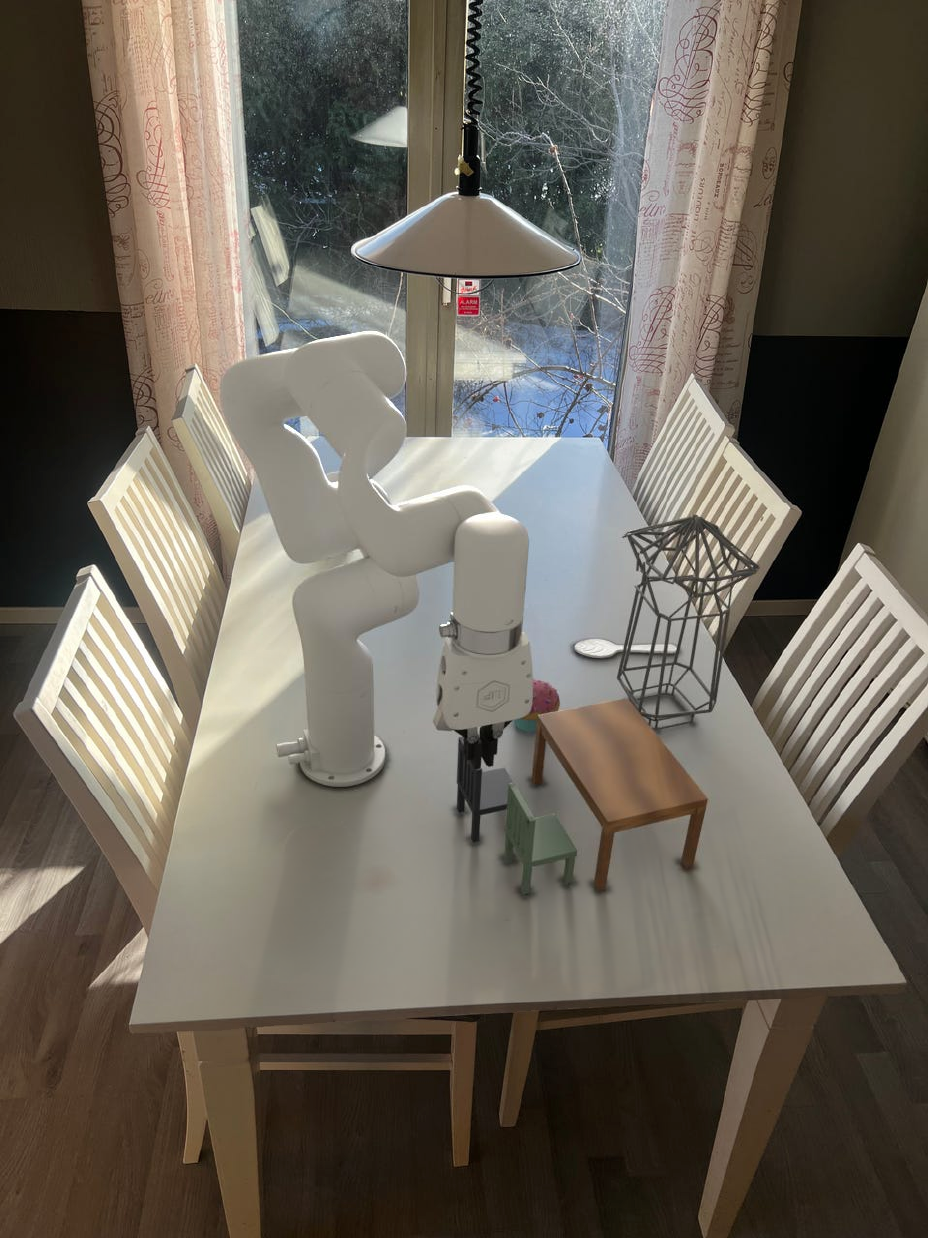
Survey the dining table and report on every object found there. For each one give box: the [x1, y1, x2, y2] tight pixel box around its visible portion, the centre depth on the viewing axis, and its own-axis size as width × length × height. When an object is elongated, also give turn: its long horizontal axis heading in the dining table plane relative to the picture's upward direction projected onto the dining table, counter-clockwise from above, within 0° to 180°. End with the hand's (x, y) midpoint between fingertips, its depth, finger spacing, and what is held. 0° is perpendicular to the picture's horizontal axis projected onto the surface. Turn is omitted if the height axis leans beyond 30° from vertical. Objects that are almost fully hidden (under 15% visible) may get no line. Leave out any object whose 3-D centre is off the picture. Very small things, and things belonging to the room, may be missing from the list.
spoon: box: [574, 638, 677, 659], centre depth 173 cm, size 5×18×1 cm, turn 92°
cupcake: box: [513, 678, 561, 733], centre depth 152 cm, size 9×8×12 cm
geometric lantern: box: [616, 513, 761, 731], centre depth 149 cm, size 16×16×35 cm
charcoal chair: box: [456, 736, 514, 843], centre depth 133 cm, size 7×7×13 cm
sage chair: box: [503, 782, 578, 895], centre depth 125 cm, size 7×7×13 cm
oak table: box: [531, 697, 709, 892], centre depth 134 cm, size 14×22×12 cm, turn 19°
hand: (479, 760), depth 115 cm, fingers closed
